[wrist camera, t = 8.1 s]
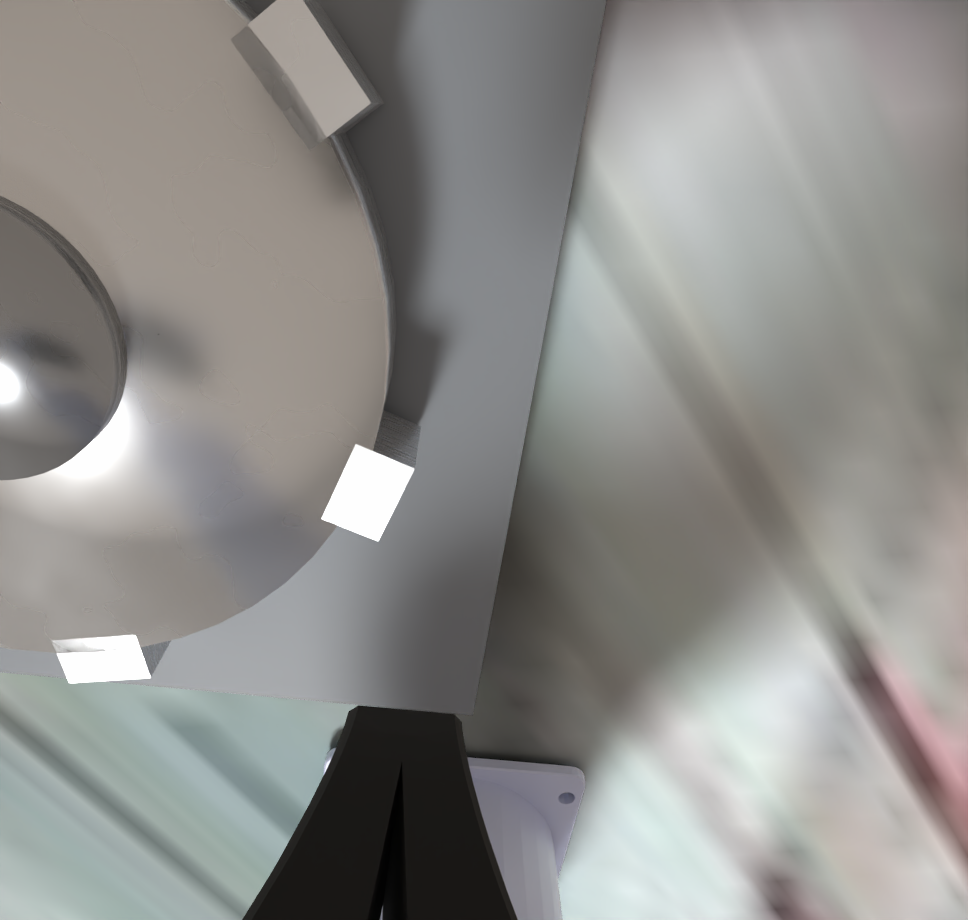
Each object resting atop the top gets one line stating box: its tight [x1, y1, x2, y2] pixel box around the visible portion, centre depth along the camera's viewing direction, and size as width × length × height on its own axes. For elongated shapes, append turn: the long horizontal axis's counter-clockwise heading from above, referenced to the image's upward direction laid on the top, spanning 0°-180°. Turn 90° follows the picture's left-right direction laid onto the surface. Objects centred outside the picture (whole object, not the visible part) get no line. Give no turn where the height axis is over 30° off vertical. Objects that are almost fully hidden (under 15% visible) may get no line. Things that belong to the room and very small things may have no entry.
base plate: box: [0, 0, 607, 715], centre depth 15 cm, size 20×20×2 cm
